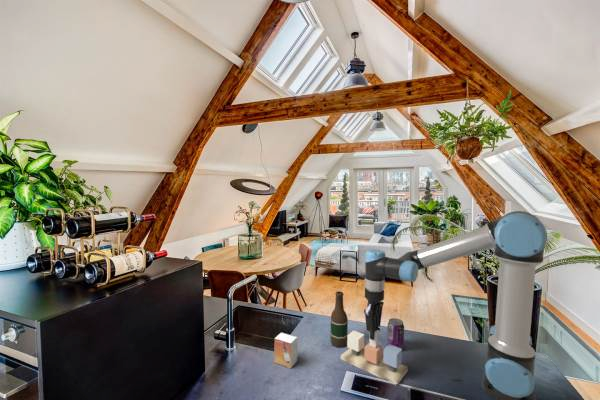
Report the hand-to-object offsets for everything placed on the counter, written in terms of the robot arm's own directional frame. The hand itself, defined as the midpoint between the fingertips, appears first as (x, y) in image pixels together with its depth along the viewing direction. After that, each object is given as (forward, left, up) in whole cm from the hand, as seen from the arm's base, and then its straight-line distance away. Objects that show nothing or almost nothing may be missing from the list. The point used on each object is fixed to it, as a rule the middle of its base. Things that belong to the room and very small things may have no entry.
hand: (373, 345), depth 115 cm
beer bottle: (+19, -4, -8) cm, 21 cm away
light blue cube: (-8, 0, -4) cm, 9 cm away
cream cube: (+8, 0, -4) cm, 9 cm away
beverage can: (-2, -18, -8) cm, 20 cm away
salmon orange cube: (0, 0, -5) cm, 5 cm away
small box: (+28, +22, -8) cm, 36 cm away
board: (0, 0, -8) cm, 8 cm away
